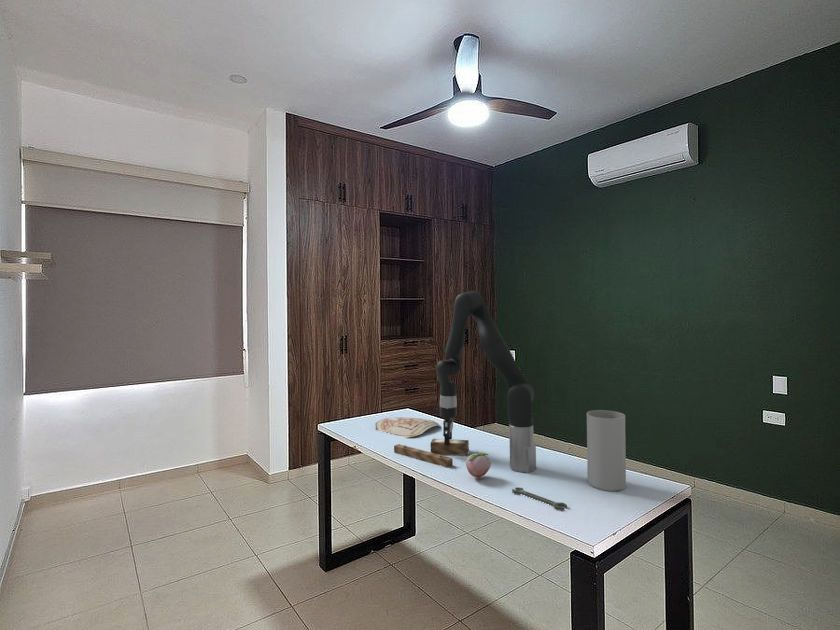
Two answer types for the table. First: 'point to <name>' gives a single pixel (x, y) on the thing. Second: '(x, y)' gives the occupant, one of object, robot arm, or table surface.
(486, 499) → the table surface
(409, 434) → the poster
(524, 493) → the wrench
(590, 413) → the cylinder vase
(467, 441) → the walnut frame
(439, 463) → the walnut rail
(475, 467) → the decorative fruit
